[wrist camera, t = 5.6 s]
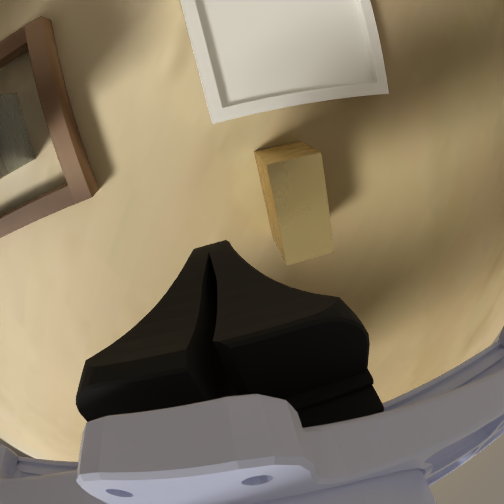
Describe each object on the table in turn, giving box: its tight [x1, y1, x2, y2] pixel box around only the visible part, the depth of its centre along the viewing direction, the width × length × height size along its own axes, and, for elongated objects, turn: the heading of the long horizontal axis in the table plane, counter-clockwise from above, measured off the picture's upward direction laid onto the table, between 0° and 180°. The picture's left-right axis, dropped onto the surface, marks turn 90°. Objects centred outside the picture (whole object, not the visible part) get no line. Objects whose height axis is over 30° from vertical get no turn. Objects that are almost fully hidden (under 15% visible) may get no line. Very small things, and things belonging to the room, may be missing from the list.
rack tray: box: [180, 0, 389, 124], centre depth 11 cm, size 9×9×1 cm
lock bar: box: [254, 141, 333, 266], centre depth 15 cm, size 5×2×3 cm, turn 12°
